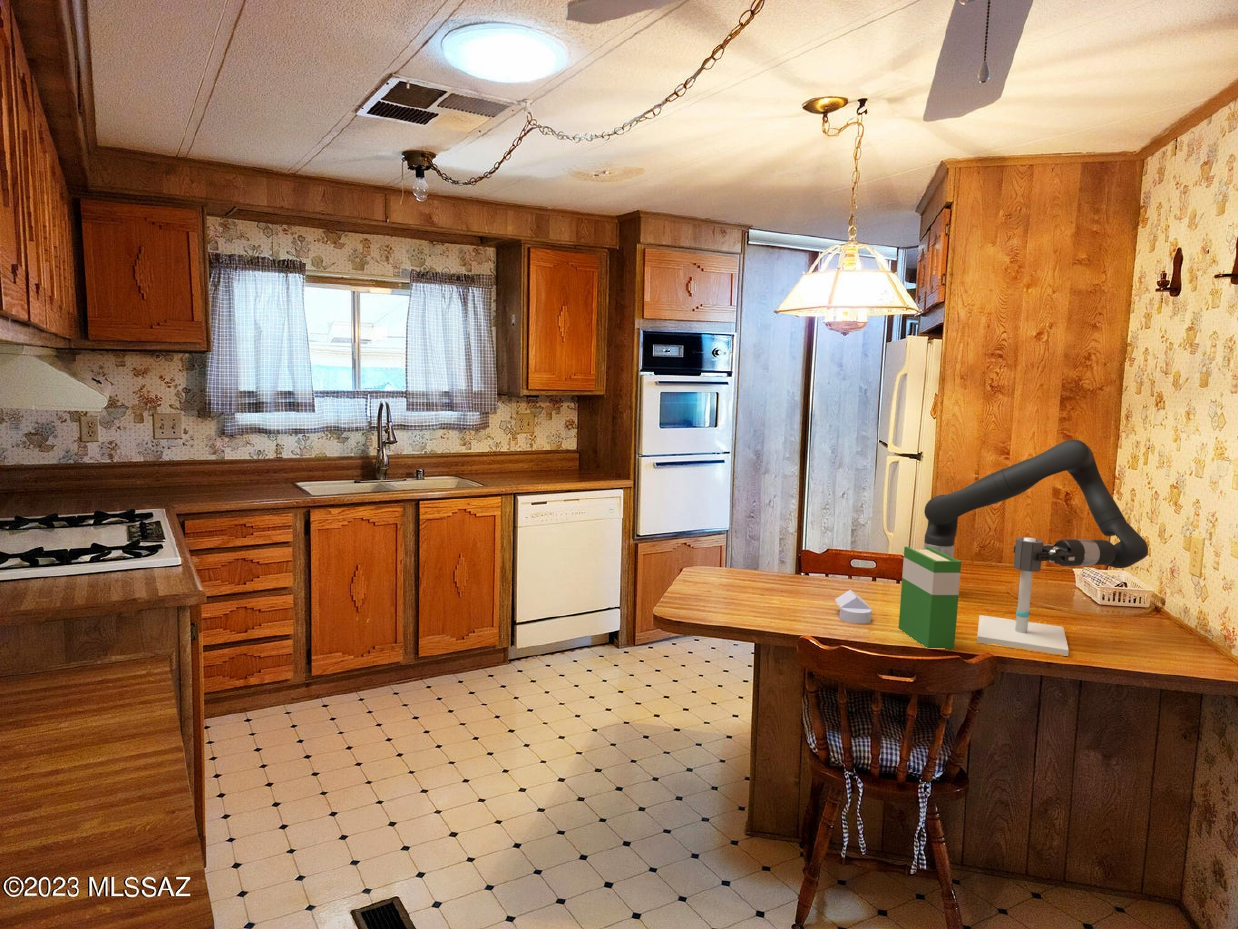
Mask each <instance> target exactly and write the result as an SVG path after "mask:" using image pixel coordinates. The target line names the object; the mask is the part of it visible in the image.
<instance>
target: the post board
mask: <svg viewBox="0 0 1238 929" xmlns="http://www.w3.org/2000/svg"><path fill="white" fill-rule="evenodd" d="M1023 538H1024V541H1029V542H1036V539H1037V538H1035V537H1023ZM1033 573H1034V572H1031V571H1023V570H1020V575H1019V586H1018V588H1019V589H1018V596H1017V599H1018V600H1017V609H1016V611H1015V612H1016V613H1015V616H1016V618H1015V619H1010V618H1005V617H1004V618H1002V617H998V616H997V617H996V616H990V615H989V616H988V615H981V614H978V615H979V618H978V625H977V626H978V628H977V637H976V644H978V643H984V644H983V645H985V644H996V645H1002V646H1008V647H1015V648H1024V649H1029V650H1034V651H1041V652H1047V653H1051V654H1061V655H1064V656H1068V657H1069V646H1068V642H1067V638H1066V633H1065V629H1064V626H1060V625H1059V626H1058V625H1052V624H1045V623H1039V622H1031V621H1029V618H1030V615H1031V614H1030V613H1031V611H1030V606H1031V596H1032V594H1031V593H1032V585H1033V575H1034V574H1033Z"/></svg>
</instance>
